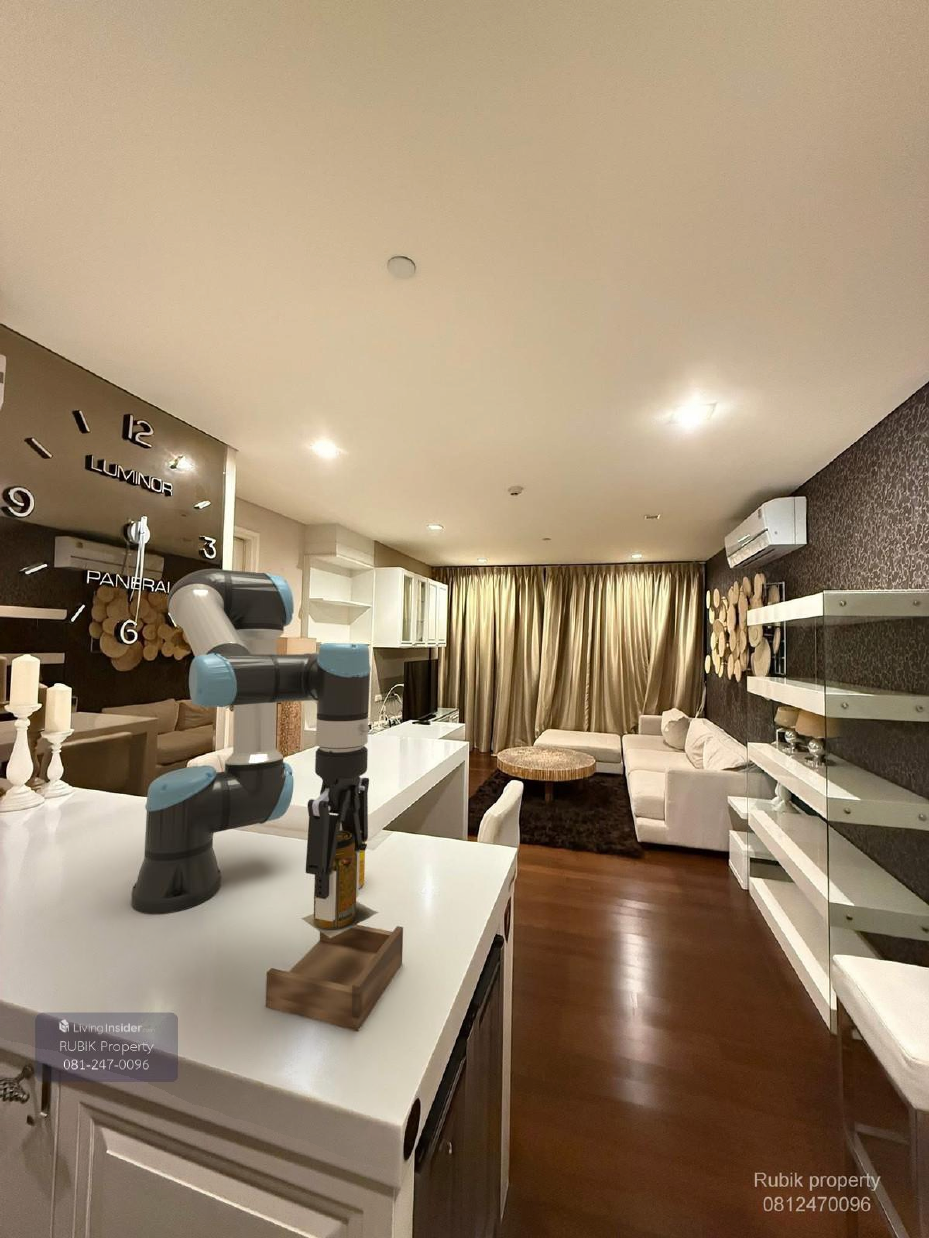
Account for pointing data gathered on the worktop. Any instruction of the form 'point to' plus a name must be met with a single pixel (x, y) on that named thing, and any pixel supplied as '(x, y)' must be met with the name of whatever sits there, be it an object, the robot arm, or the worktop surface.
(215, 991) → the worktop surface
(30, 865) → the worktop surface
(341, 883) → the condiment
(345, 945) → the wooden serving tray
